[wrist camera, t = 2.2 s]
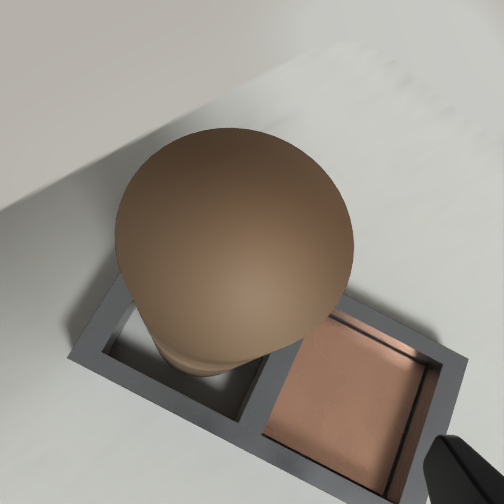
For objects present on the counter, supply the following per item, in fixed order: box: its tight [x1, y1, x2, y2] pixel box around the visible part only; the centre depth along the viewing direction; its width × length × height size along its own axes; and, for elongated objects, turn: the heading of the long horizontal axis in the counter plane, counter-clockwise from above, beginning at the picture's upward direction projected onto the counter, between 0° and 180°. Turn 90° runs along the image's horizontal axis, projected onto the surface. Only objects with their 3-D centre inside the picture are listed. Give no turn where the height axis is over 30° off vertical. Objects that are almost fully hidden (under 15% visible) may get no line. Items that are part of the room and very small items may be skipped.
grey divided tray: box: [67, 272, 468, 504], centre depth 19 cm, size 8×15×2 cm, turn 64°
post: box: [115, 128, 354, 377], centre depth 14 cm, size 4×4×12 cm
